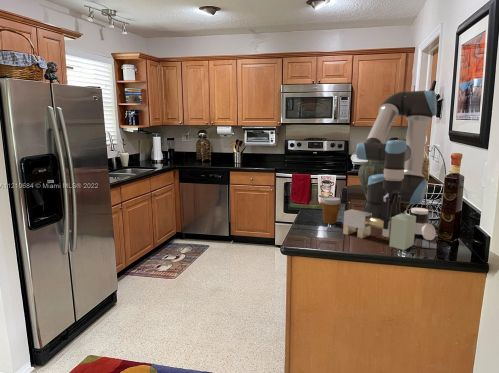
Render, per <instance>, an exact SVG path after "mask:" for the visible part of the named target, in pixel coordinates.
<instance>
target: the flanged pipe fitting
mask: <svg viewBox="0 0 499 373" xmlns="http://www.w3.org/2000/svg"><path fill="white" fill-rule="evenodd" d="M409 215H413V216H416V223H415V234H414V238H421V239H422V238H423V239H425V240H426V241H432V240H434V239H435V238H436V232H437V231H436V228H435V226H434V225H433V224H431V223H430V216H429V209H427V208H424V207H423V208H422V207H411V208H410V214H409Z"/></svg>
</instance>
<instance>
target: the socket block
mask: <svg viewBox="0 0 499 373" xmlns="http://www.w3.org/2000/svg"><path fill="white" fill-rule="evenodd" d="M415 223H416V216H413V215H410V214H408V213H407V214H406V213H402V212H400V214H399V215H396V216H394V217H392V220H391V232H390V236H389V245H388V246H389V247H390V248H391V247H392V248H395V249H398V250H402V251H405V250H407V249H409V248H410V247H412V246H414V243H415V242H414V240H415V237H414V234H415Z"/></svg>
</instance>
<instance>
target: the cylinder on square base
mask: <svg viewBox="0 0 499 373" xmlns="http://www.w3.org/2000/svg"><path fill="white" fill-rule="evenodd" d="M391 220H392V218H390V221H391ZM365 225H366V226H370V227H371V228H375V229H380V230H383V220H381V219H378V218H373V217H368V216H366V219H365ZM390 232H391V224H390Z"/></svg>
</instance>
